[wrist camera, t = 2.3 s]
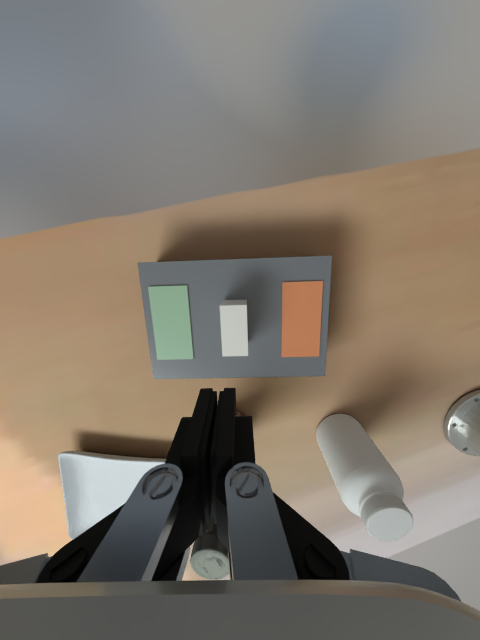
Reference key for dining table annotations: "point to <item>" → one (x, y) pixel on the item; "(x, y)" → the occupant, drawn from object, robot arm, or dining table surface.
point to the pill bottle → (364, 477)
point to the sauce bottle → (210, 551)
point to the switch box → (262, 316)
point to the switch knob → (234, 327)
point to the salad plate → (98, 485)
